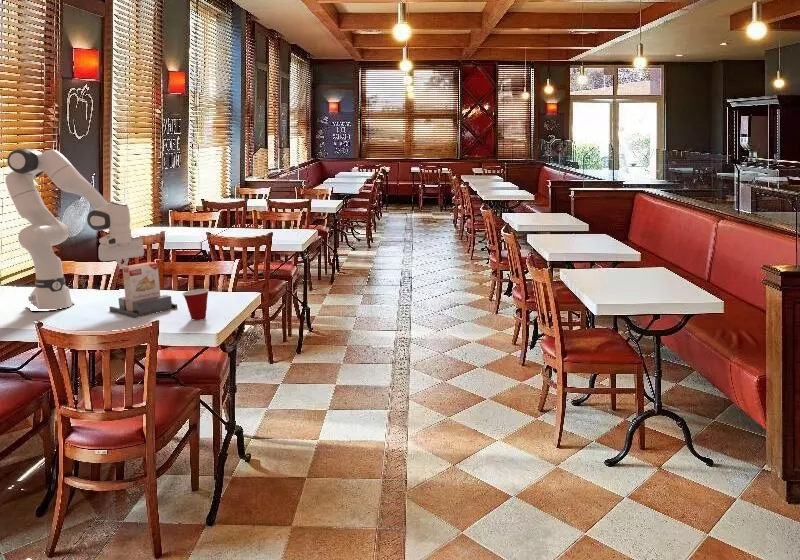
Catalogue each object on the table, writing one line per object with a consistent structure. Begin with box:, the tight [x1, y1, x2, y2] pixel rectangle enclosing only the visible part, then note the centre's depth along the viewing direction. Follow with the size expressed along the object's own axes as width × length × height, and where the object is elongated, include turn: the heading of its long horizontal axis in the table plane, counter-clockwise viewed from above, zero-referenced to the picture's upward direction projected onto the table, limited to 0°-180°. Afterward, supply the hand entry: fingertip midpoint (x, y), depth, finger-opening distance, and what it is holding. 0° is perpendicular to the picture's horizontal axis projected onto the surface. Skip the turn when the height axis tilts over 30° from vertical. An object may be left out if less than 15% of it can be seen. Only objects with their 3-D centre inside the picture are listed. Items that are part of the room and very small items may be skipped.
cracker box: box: [122, 261, 161, 312], centre depth 316 cm, size 14×6×21 cm, turn 141°
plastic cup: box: [182, 288, 210, 321], centre depth 301 cm, size 11×11×12 cm
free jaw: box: [117, 296, 127, 310], centre depth 321 cm, size 5×16×6 cm, turn 140°
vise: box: [108, 294, 178, 319], centre depth 319 cm, size 22×20×6 cm
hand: (122, 268), depth 325 cm, fingers closed
